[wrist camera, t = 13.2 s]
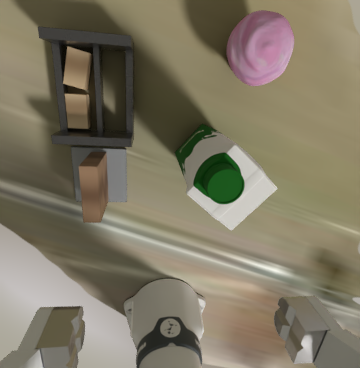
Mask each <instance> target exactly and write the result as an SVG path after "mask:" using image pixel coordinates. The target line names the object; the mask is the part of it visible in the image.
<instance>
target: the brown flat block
mask: <svg viewBox="0 0 360 368" xmlns="http://www.w3.org/2000/svg"><path fill="white" fill-rule="evenodd" d="M79 176H80V187H81V199H82V210H83V221H84V222H101V220H102V217H103V214H104V211H105V209H106V206H107V203H108V200H109V198H108V175H107V152H91V153H90V154H89V155H88V156H87V157H86V158H85V160H84V161H83V162H82V163H81V164H80V165H79Z"/></svg>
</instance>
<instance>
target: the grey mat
mask: <svg viewBox="0 0 360 368" xmlns="http://www.w3.org/2000/svg"><path fill="white" fill-rule="evenodd" d="M91 152H107V175H108V198H109V200H108V202H127V172H126V149H120V148H95V147H71V154H72V165H73V175H74V185H75V196H76V201H80V202H82V199H81V187H80V176H79V165H80V164H81V163H82V162H83V161H84V160H85V158H86V157H87V156H88V155H89V154H90V153H91Z"/></svg>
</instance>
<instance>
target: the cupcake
mask: <svg viewBox="0 0 360 368" xmlns="http://www.w3.org/2000/svg"><path fill="white" fill-rule="evenodd" d="M293 47H294V35H293V32H292V29H291V27H290V25H289V22H288V21H287V19H286V18H285V17H284V16H282V15H281V14H279V13H275V12H270V11H256V12H253V13H251V14H248V15H247V16H246V17H244V18H243V19H242V20H241V21H240V22H239V23H238V24H237V26H236V27H235V28H234V30H233V31H232V33H231V35H230V37H229V40H228V44H227V51H226V56H227V58H228V62H229V65H230V67H231V69H232V71H233V72H234V74H235V75H236V76H237V78H239V79H240V80H241V81H242V82H244V83H245V84H247V85H250V86H260V85H264V84H266V83H269V82H271V81H272V80H274V79H276V78H277V77H279V76H280V75H281V74H282V73H283V72H284V70H285V69H286V66H287V64H288V62H289V60H290V57H291V54H292V51H293Z"/></svg>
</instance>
